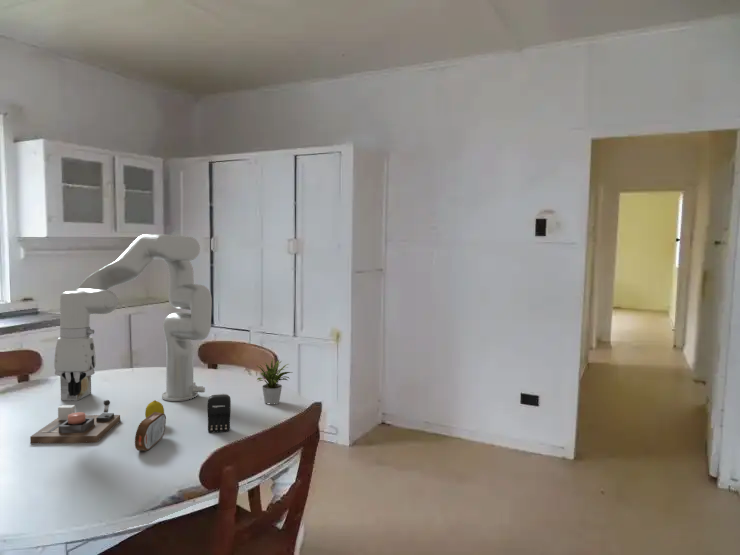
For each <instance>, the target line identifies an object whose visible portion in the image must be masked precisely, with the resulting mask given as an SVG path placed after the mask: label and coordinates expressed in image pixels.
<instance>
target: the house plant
mask: <svg viewBox="0 0 740 555" xmlns="http://www.w3.org/2000/svg"><path fill="white" fill-rule="evenodd" d="M273 362H274V359H273V358H272V359H271V363H270V366H269V365H268V364H267V363H266V362H264V363H263V365H265V367H266V370H265V368H264V367H263V366H262V365H261V364H259V365H256V368H257V367H258V368H259V370H261V373H260V375H262V376H263V377H264V378H265V379H263V378H262V377H258V378H256V381H258V382H261V381H262V382H265V384H263V385H262V386H261V387H262V393H263V400H264V404H265V403H270V404H274V403H278V402H279V403H280V401H281V400H280V399H281V393H282V388H283V386H282V384H280V383H279V382H280V381H282V380H283V381H284V380H285V381H288V379H290V377H289V376H284V375H287V374H290V373H291V374H292V373H293V371H285V369H286V368H289V367H286V366H287V365H289V363H287V364H284V365H283V366H282V367H281V368H280V369H278V367H279V365H280V364H281V363H282V361H280V359H279V360H277V361H276V362H275V364H274V363H273ZM283 371H284V372H283ZM290 380H291V379H290ZM279 403H278V404H279Z"/></svg>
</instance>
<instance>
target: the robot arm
mask: <svg viewBox="0 0 740 555" xmlns="http://www.w3.org/2000/svg"><path fill="white" fill-rule="evenodd" d="M200 253H201V246H200V243H199V241H198V240H197V239H196V238H194V237H192V236H186V235H185V236H184V235H183V236H182V235H171V234H165V233H163V234H160V233H157V234H156V233H145V234H141V235H139V236H138V237H137V238H135V240H133V241H132V242H131V243H130V245H129V246H128V247H127V248H126V249H125V250H124V251H123V252H122V253H121V254H120V255H119V257H118V258H117V259H116V260H115V261H112V262H111V263H109V264H106V265H105V266H103V267H102V268H100V269H98V270H96V271H94V272H93V273H91V274H90V275H89V276H87V277H86V278H85V279H83V281H82V282H81V283H80V284H79V285H78V286H77V287H76V288H75V290H66V291H64V292H62V293H61V294H60V297H59V298H60V300H59V301H60V302H59V304H60V305H59V307H60V309H59V310H60V311H59V312H60V314H59V318H60V320H59V322H60V323H59V324H60V327H59V337H58V338H57V340H56V341H57V342H56V344H55V351H54V362H53V363H54V364H53V365H54V370H55V371H54V374H55V376H59V377H60V376H63V377H64V378H65V379H66V381H67V382H68V392H69V396H72V395H73V396H76V395H78V394H80V392H81V380H83V379H84V378H85V377H86V376H90V375H91V376H92V375H94V374H95V368H96V367H97V366H96V365H97V363H96V362H97V361H96V360H97V359H96V358H97V357H96V348H95V342H94V338H93V336H91V335H94V334H95V329H92V328H91V325H90V317H91V316H90V315H107V314H110V313H113V312H114V311H115V310H116V309H117V307H118V305H119V298H118V295H117V294H115V293H114V292H113V291H112V290H109V289H111V288H113V287H115V286H116V287H117V286H119V285H122V284H126V283H129V282H132V281H134V280H137V278H139V276H141V274H142V273H143V272H144V271H145V270H146V268H147V267H148V266H149V265H150V264H151V263H152V262H153V261H154V260H163V262H164V263H165V264H166V266H167V269H168V303H169V305H170V307H172V308H174V309H178V310H179V309H180V310H186V311H187V310H190V312H181V311H180V312H179V311H175V312H172V313H170V314H168V315H167V316H165V318H164V320H163V323H162V324H163V325H162V328H163V333H164V334H163V335H164V338H165V347H166V348H165V351H166V353H165V354H166V357H165V358H166V359H165V360H166V364H165V365H166V366H165V367H166V371H165V372H166V373H165V377H166V378H165V380H166V381H165V383H166V386H165V387H166V390H165V391H164V392H162V394H161V398H162V399H163V400H165V401H169V402H182V401H183V402H184V401H190V400H192V398H193V399H195V398H197V397H198V395H199V393H202V394H203V393H205V392H206V387H205V386H203V385H199V386H197V384H196V382H194V353H195V352H194V346H193V343H192V341H203V340H205V339H206V338H207V337H208V336H209V334H210V333H211V332H210V331H211V329H212V328H211V325H212V307H213V306H212V305H213V304H212V303H213V302H212V300H213V299H212V297H213V296H212V293H211V291H210V289H209V288H208V287H207V286H205V285H203V284H196V283H194V267H193V265H192V263H191V261H193V260H195V259H197V258H198V256H199V255H200ZM74 372H76V376H74ZM196 396H197V397H196ZM194 397H195V398H194ZM189 399H190V400H189Z"/></svg>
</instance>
